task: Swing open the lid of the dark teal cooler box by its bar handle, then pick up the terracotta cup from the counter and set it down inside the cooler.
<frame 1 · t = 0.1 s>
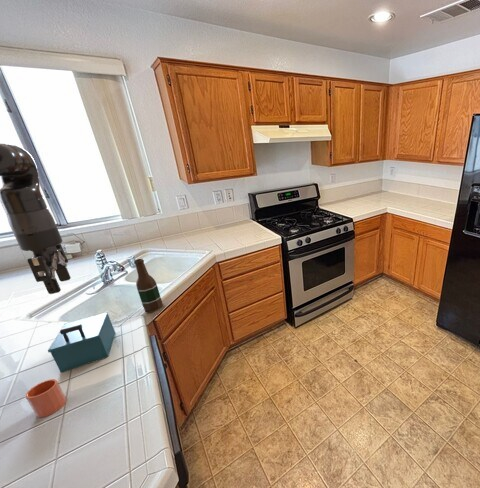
hand: (60, 286, 71), 33 cm above the countertop, tool pointing down, fingers open, 8 cm apart
cooler: (90, 350, 95), on the countertop
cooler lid: (78, 324, 91), point 12 cm above the countertop, hinge at 0.0°
cup: (52, 407, 73), on the countertop
beer bottle: (153, 307, 121), on the countertop
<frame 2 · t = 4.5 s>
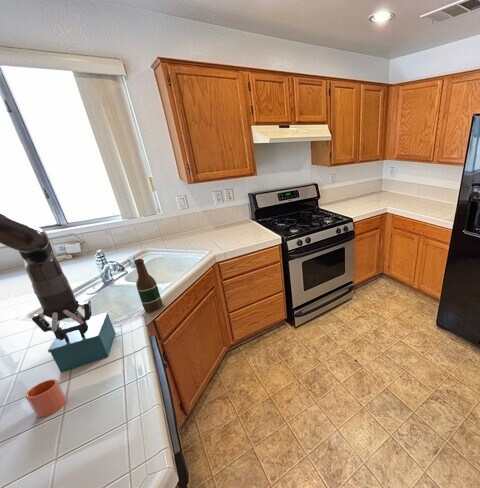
hand: (73, 335, 86), 11 cm above the countertop, tool pointing down, fingers closed on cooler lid, 5 cm apart
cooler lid: (78, 324, 91), point 12 cm above the countertop, hinge at -0.1°, touching gripper
everything else where it was.
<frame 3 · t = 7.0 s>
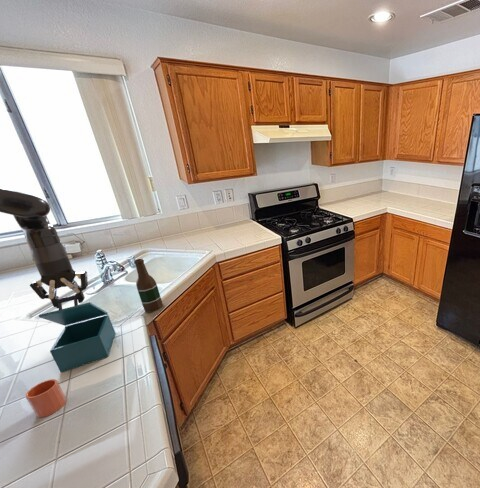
hand: (70, 304, 89), 19 cm above the countertop, tool pointing down, fingers closed on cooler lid, 5 cm apart
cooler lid: (76, 308, 92), point 16 cm above the countertop, hinge at 40.8°, touching gripper
everything else where it was.
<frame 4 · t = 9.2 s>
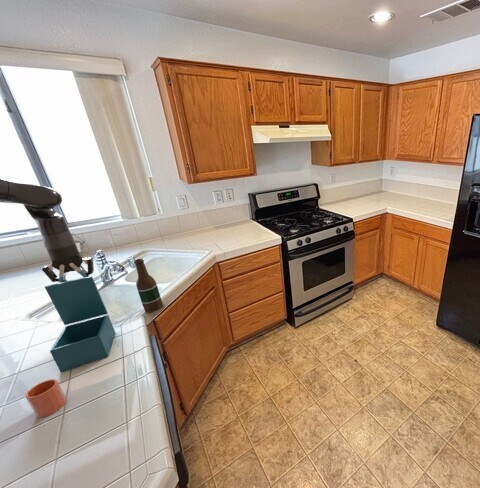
hand: (78, 287, 98), 21 cm above the countertop, tool pointing down, fingers closed on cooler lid, 5 cm apart
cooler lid: (79, 297, 97), point 18 cm above the countertop, hinge at 84.6°, touching gripper
everything else where it was.
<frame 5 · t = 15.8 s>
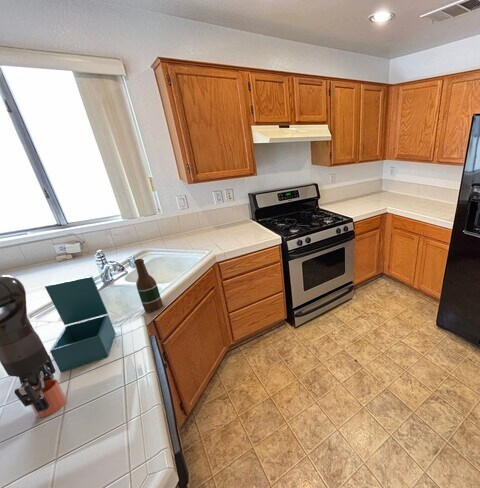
hand: (48, 400, 73), 3 cm above the countertop, tool pointing down, fingers closed on cup, 6 cm apart
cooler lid: (79, 297, 97), point 18 cm above the countertop, hinge at 85.4°
cup: (52, 407, 73), on the countertop, touching gripper
everything else where it was.
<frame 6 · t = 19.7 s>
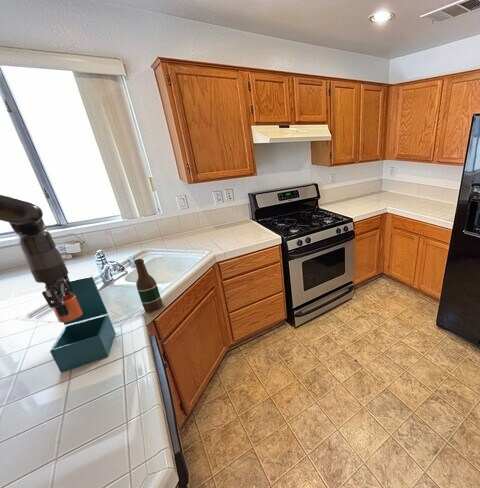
hand: (67, 310, 87), 19 cm above the countertop, tool pointing down, fingers closed on cup, 6 cm apart
cup: (70, 317, 88), point 16 cm above the countertop, touching gripper
everything else where it was.
when the fingers open (3 cm above the countertop, at t = 23.7 s): cup stays where it is, resting on cooler.
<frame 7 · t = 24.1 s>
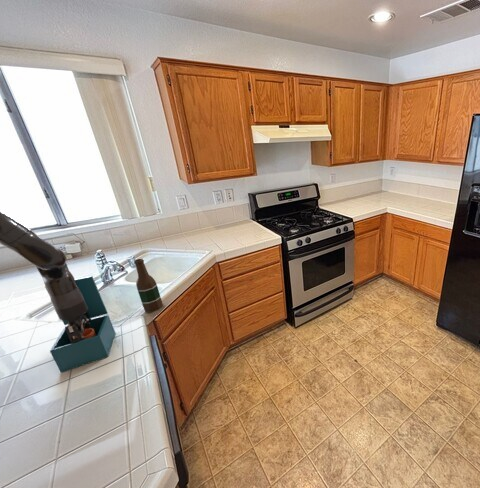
hand: (86, 341, 94), 4 cm above the countertop, tool pointing down, fingers open, 8 cm apart
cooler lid: (79, 297, 97), point 18 cm above the countertop, hinge at 85.7°
cup: (89, 349, 94), point 1 cm above the countertop, touching cooler
everything else where it was.
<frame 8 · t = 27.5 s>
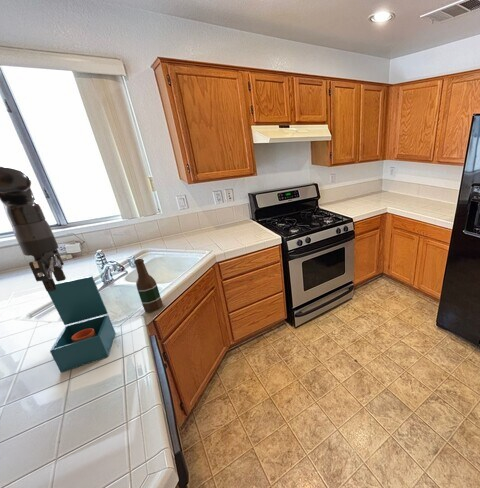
hand: (57, 285, 83), 28 cm above the countertop, tool pointing down, fingers open, 8 cm apart
nothing on the countertop moved.
at the end: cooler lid at +86° (first picture: +0°); cup inside the target area in the cooler (0.5 cm from its centre), point 0.8 cm above the cooler's base; cup tilted 0° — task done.
